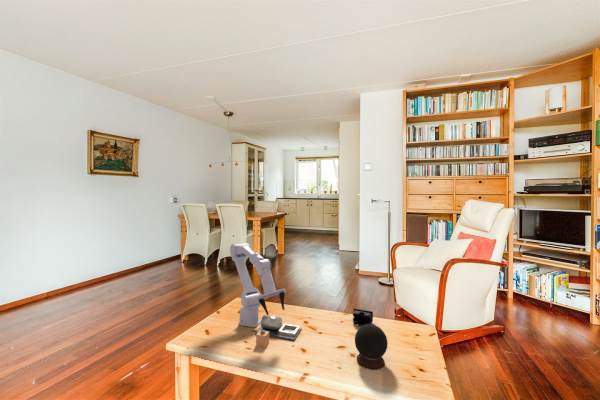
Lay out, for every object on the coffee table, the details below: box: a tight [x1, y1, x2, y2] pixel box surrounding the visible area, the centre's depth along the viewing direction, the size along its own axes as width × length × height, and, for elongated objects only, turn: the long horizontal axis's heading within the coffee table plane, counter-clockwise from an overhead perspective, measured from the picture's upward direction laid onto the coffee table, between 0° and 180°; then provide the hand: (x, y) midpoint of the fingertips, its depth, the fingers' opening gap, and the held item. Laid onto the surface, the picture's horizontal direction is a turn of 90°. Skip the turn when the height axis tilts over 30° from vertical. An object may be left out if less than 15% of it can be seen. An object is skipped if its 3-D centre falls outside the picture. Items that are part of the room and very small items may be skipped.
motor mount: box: [255, 314, 303, 342], centre depth 143 cm, size 20×12×7 cm, turn 73°
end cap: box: [352, 307, 374, 326], centre depth 155 cm, size 10×7×7 cm
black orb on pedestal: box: [354, 323, 389, 371], centre depth 119 cm, size 13×13×15 cm
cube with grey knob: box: [255, 330, 270, 348], centre depth 132 cm, size 4×4×6 cm
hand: (275, 312), depth 135 cm, fingers open, 7 cm apart
